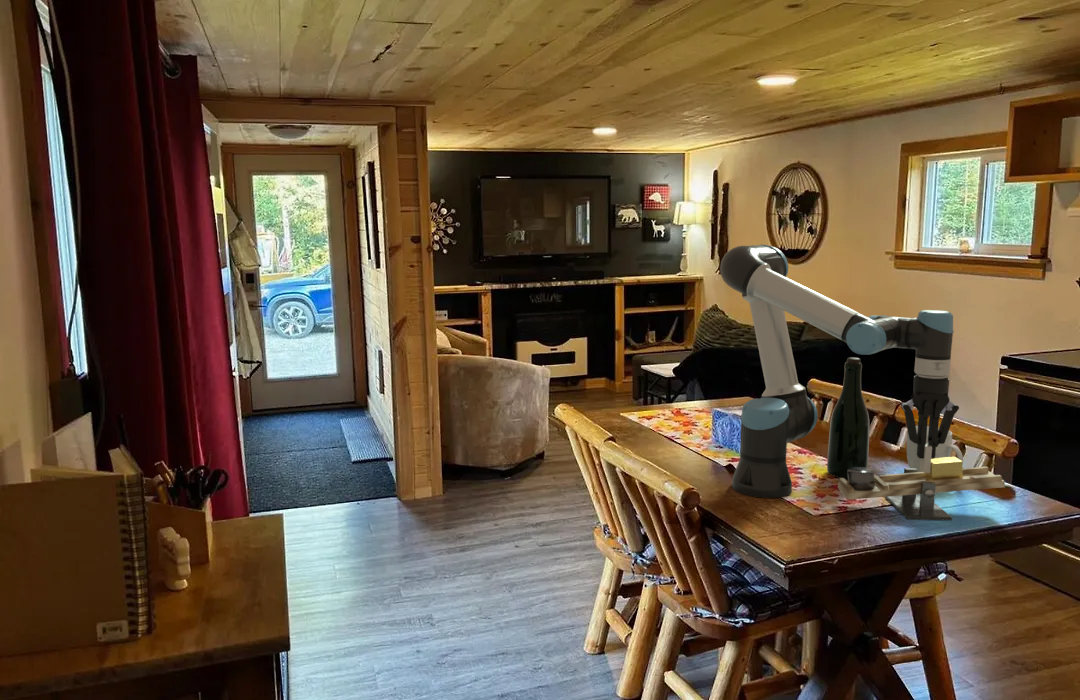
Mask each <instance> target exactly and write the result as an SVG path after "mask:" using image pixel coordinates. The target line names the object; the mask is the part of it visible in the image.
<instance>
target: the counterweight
mask: <svg viewBox="0 0 1080 700" xmlns="http://www.w3.org/2000/svg"><path fill="white" fill-rule="evenodd" d="M847 472H848V479H847V482H848V483H849V484H850V485H851V486H852V487H853V488H854V490H857V491H868V490H872V489H874V488H875V482H874V475H875V471H874V469H873V468H870V467H868V468H865V467H855V468H850V469H848V471H847Z"/></svg>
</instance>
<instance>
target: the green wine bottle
mask: <svg viewBox="0 0 1080 700" xmlns="http://www.w3.org/2000/svg"><path fill="white" fill-rule="evenodd" d="M862 369H863V364H862V362H861V358H859V357H855V356H853V357H852V356H851V357H847V359H846V362H845V363H844V374H843V375H844V377H843V385H842V387H841V388H842V389H841V393H840V395H839V396H838V400H837V402H836V404H835V405H834V408H833V410H832V414H831V416H830V426H829V433H828V434H829V435H828V436H829V437H828V447H827V448H828V450H827V461H826V462H827V464H826V469H827V470H826V471H827V473H828V474H829V475H831V476H833V477H835V478H839V479H840V478H844V479H845V480H848V472H847V471H848V469H850V468H855V467H865V468H869V467H868V466H869V446H870V417H869V411H868V409H867V406H866V403H865V400H864V396H863V392H862Z"/></svg>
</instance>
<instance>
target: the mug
mask: <svg viewBox="0 0 1080 700" xmlns="http://www.w3.org/2000/svg"><path fill="white" fill-rule="evenodd" d="M938 430H939V427H938ZM916 431H917V432H918V425H916ZM928 432H929V425H927V436H926V444H928ZM952 450H953V452H954V453H955V454H956V456H957V457H956V458H958V459H959V460H961V461H962V466H963V465H964V456H963V453H962V451H961V450H960V448H959V447H958V446H957V445H955V444H953V432H952V431H951V430H949V432H948V434H947V437H946V440H945V443H944V444H938V447H936V453H935V458H944V457H951V454H952ZM906 458H907V464H908V468H916V469H918V472H922V471H921V470H920V458H918V457H917V444H916V443H913V442H912V441H911V440H910V439H909V434H908V433H907V436H906Z"/></svg>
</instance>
